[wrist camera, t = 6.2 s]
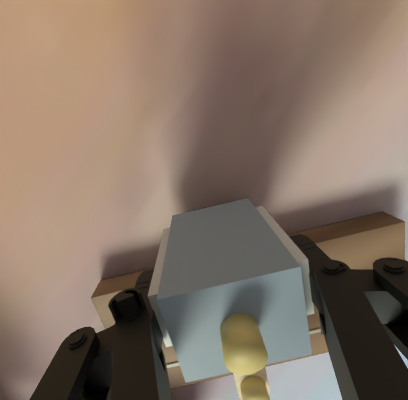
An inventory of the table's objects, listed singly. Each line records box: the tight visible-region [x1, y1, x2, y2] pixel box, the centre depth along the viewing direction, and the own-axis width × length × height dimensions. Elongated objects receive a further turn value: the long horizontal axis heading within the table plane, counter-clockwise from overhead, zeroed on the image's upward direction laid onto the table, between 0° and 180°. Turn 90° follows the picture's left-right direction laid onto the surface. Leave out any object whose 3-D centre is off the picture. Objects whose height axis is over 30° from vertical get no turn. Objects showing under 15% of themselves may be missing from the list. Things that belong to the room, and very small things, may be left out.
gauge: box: [157, 198, 312, 400], centre depth 13 cm, size 12×5×9 cm, turn 13°
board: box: [91, 212, 405, 389], centre depth 19 cm, size 10×22×2 cm, turn 104°
